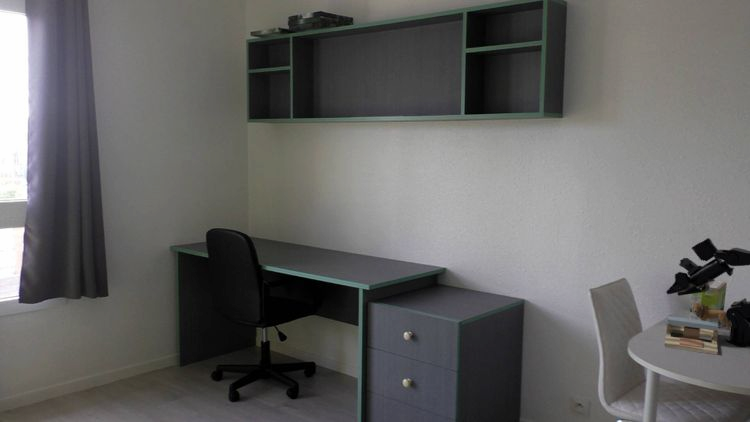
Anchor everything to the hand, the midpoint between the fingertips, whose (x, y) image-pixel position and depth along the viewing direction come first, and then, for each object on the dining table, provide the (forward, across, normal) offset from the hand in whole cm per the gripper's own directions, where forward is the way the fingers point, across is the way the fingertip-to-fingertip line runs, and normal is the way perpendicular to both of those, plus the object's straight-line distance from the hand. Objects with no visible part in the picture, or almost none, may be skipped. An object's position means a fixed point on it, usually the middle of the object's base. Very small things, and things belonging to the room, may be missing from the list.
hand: (672, 293), depth 237 cm
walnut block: (+2, +2, +17) cm, 18 cm away
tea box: (+4, -28, +8) cm, 30 cm away
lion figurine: (+1, -19, +13) cm, 23 cm away
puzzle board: (+2, +3, +18) cm, 18 cm away
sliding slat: (-1, +3, +14) cm, 14 cm away
